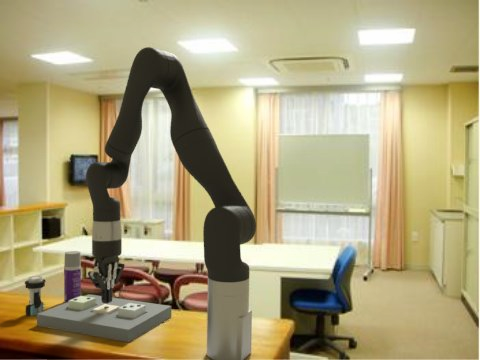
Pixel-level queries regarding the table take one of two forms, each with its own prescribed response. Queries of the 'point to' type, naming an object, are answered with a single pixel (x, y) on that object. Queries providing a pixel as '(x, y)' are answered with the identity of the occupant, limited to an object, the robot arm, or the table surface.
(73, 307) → the tile two pips
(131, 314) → the tile three pips
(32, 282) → the push button
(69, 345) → the table surface
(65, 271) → the container
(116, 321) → the button board
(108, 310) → the tile one pip
